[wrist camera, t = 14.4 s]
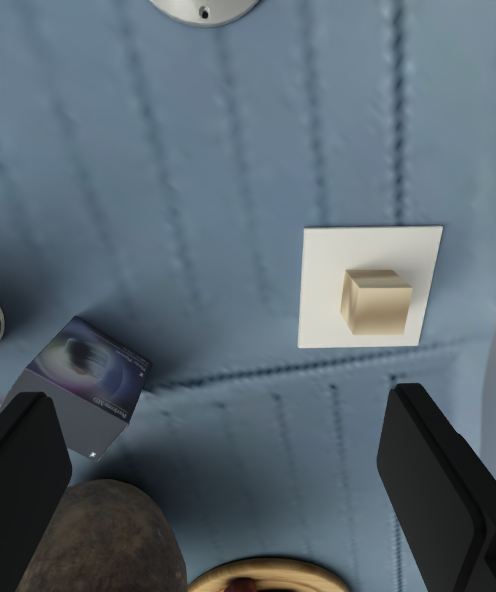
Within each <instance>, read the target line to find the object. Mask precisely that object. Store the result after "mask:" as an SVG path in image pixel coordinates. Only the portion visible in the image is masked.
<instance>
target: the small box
mask: <svg viewBox="0 0 496 592" xmlns="http://www.w3.org/2000/svg"><path fill="white" fill-rule="evenodd" d="M151 366H152V363H151V362H150V361H148V360H146V359H145V358H143V357H142V356H140V355H138V354H137V353H135V352H133V351H132V350H130V349H128V348H127V347H125V346H124V345H122V344H120V343H119V342H117V341H115V340H114V339H112V338H110V337H109V336H107V335H106V334H104V333H102V332H101V331H99V330H97V329H96V328H94V327H93V326H91V325H89V324H88V323H86V322H84V321H83V320H81V319H80V318H78V317H77V316H74V317H73V318H72V320H71V321H70V322H69V323H68V324H67V325H66V326H65V327H64V328H63V329H62V330H61V331H60V332H59V333H58V334H57V335H56V337H54V339H53V340H52V341H51V342H50V343H49V344H48V345H47V346H46V347H45V348H44V349H43V350H42V351H41V352H40V353H39V354H38V355H37V356H36V358H34V360H33V361H32V362H31V363H30V364H28V366H27V367H26V368H25V369H24V370H23V371H22V373H21V374H20V376H19V377H18V379H17V380H16V382H15V383H14V384H13V386H12V388H11V389H10V391H9V392H8V394H7V395H6V397H5V398H4V400H3V401H2V403H1V405H0V413H1V412H2V411H3V410H4V408H5V407H6V406H7V405H8V404H9V403H10V402H11V400H12V399H13V398H14V397H15V396H16V395H17V394H18V393H20V392H44V393H45V394H46V395H47V397H51V398H52V400H53V403H54V406H55V410H56V413H57V417H58V420H59V423H60V427H61V430H62V434H63V437H64V441H65V444H66V447H67V448H69V449H71V450H73V451H75V452H77V453H79V454H81V455H83V456H85V457H87V458H89V459H91V460H93V461H96V462H97V461H99V460H100V459H101V457H102V456H103V455H104V454H105V453H106V451H107V450H108V449H109V448H110V447H111V445H112V444H113V443H114V442H115V441H116V439H117V438H118V437H119V436H120V435H121V433H122V432H123V431H124V430H125V429H126V428H127V426H128V425H129V422H130V419H131V417H132V414H133V412H134V409H135V407H136V404H137V402H138V399H139V396H140V394H141V391H142V389H143V386H144V384H145V381H146V378H147V376H148V374H149V371H150V369H151Z"/></svg>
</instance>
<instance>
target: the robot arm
mask: <svg viewBox="0 0 496 592" xmlns="http://www.w3.org/2000/svg"><path fill="white" fill-rule="evenodd" d="M149 1H150V2H151V3H152V4H153V5H154V6H155V7H156V8H158V9H159V10H160V11H161V12H162V13H164V14H165V15H166V16H168V17H170V18H172V19H174V20H176V21H177V22H179V23H182V24H185V25H189V26H192V27H200V28H212V27H218V26H223V25H226V24H228V23H231V22H233V21H235V20H237V19H239V18H240V17H242V16H243V15H244V14H246V13H247V12H249V11H250V10H251V9H252V8H253V7H254V6H255V5H256V4H257V3H258V1H259V0H149ZM205 12H206V13H208V18H206V19H204V18H203V17H202V14H203V13H205ZM377 468H378V472H379V475H380V477H381V479H382V482H383V484H384V487H385V489H386V491H387V494H388V496H389V499H390V501H391V503H392V506H393V508H394V511H395V513H396V515H397V518H398V520H399V523H400V525H401V527H402V530H403V532H404V535H405V537H406V540H407V542H408V544H409V547H410V549H411V552H412V554H413V556H414V559H415V561H416V564H417V566H418V568H419V571H420V573H421V576H422V578H423V580H424V583H425V585H426V588H427V590H428V592H496V480H495V479H494V477H493V476H492V475H491V473H490V472H489V471H488V469H487V468H486V467H485V465H484V464H483V463H482V461H481V460H480V459H479V457H478V456H477V455H476V453H475V452H474V451H473V449H472V448H471V447H470V445H469V444H468V443H467V441H466V440H465V439H464V438H463V437H462V436H461V435H460V434H458V433H457V432H456V431H455V429H454V428H453V427H452V425H451V424H450V423H449V421H448V420H447V419H446V417H445V416H444V415H443V413H442V412H441V410H440V409H439V408H438V406H437V405H436V404H435V402H434V401H433V400H432V398H431V397H430V396H429V394H428V393H427V391H426V390H425V389H424V387H423V386H422V385H421V384H419V383H401V384H397V385H396V387H395V389H391V390H390V392H389V396H388V401H387V407H386V412H385V417H384V423H383V428H382V433H381V439H380V444H379V449H378V455H377ZM71 476H72V464H71V461H70V458H69V454H68V451H67V447H66V444H65V441H64V437H63V434H62V430H61V427H60V423H59V420H58V417H57V413H56V410H55V406H54V403H53V400H52V398H51V397H47V395H46V394H45V393H44V392H20V393H18V394H17V395H16V396H15V397H14V398H13V399H12V400H11V402H10V403H9V404H8V405H7V406H6V407H5V408H4V410H3V411H2V412H1V413H0V592H15V591H16V589H17V587H18V585H19V583H20V581H21V579H22V577H23V575H24V573H25V571H26V569H27V567H28V565H29V563H30V561H31V559H32V557H33V555H34V553H35V551H36V549H37V547H38V545H39V543H40V541H41V539H42V537H43V535H44V532H45V530H46V528H47V526H48V524H49V522H50V520H51V518H52V516H53V514H54V512H55V510H56V508H57V506H58V504H59V502H60V500H61V498H62V496H63V494H64V492H65V490H66V488H67V486H68V484H69V482H70V479H71Z"/></svg>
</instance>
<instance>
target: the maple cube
mask: <svg viewBox="0 0 496 592" xmlns="http://www.w3.org/2000/svg"><path fill="white" fill-rule="evenodd" d="M412 290H413V287H411V286H410V285H409V284H408V283H407V282H406V281H404V280H403V279H402V278H401V277H400V276H399V275H397V274H396V273H395V272H394V271H393V270H345V276H344V284H343V293H342V301H341V310H340V313H341V315H342V316H343V318H344V320H345V322H346V323H347V325H348V327H349V329H350V330H351V332H352V334H353V335H403V334H404V329H405V324H406V320H407V315H408V310H409V305H410V300H411V295H412Z"/></svg>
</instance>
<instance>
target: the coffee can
mask: <svg viewBox="0 0 496 592" xmlns="http://www.w3.org/2000/svg"><path fill="white" fill-rule="evenodd" d="M4 330H5V319H4V315H3V312H2V309H1V307H0V340H1V338H2V336H3V333H4Z"/></svg>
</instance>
